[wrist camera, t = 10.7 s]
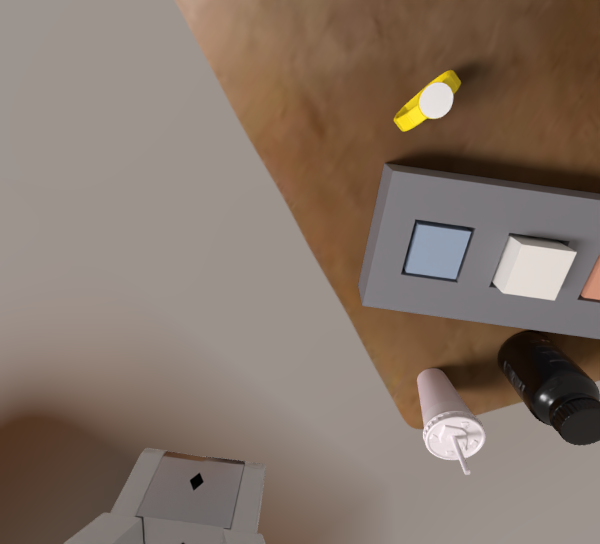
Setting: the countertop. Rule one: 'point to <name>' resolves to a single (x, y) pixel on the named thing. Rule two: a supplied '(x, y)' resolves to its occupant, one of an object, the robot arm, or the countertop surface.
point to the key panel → (480, 248)
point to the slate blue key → (436, 249)
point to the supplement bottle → (552, 386)
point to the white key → (532, 266)
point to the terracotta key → (593, 283)
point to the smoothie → (447, 419)
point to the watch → (429, 101)
